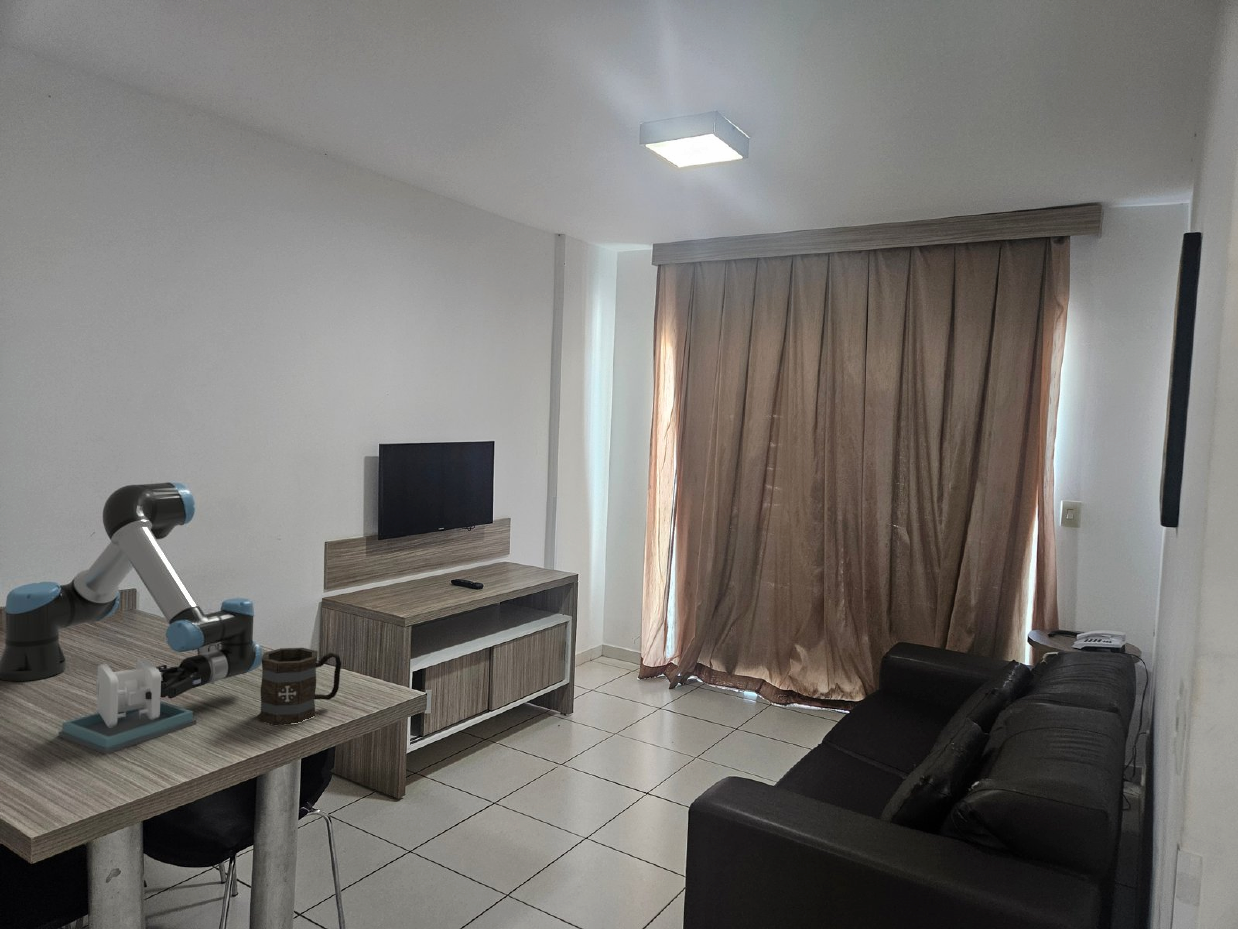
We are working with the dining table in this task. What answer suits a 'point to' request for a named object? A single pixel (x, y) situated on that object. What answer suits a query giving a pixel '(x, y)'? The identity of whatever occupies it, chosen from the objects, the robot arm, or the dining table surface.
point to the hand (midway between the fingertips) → (113, 694)
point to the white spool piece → (127, 691)
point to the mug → (292, 684)
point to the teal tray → (125, 728)
